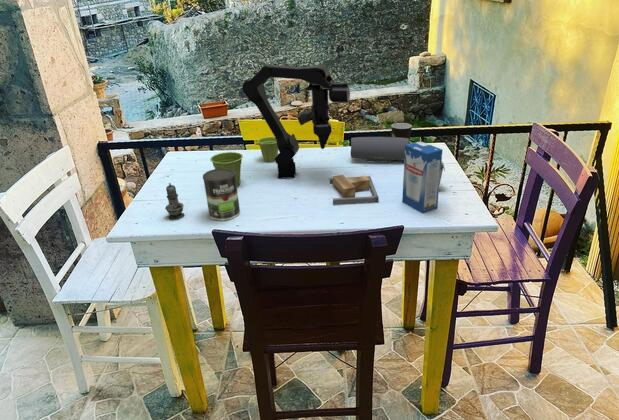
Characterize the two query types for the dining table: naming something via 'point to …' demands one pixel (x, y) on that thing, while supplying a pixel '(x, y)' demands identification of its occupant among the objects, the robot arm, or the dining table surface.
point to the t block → (350, 185)
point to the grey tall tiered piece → (174, 204)
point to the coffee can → (221, 194)
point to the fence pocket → (355, 200)
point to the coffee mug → (401, 130)
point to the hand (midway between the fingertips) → (321, 144)
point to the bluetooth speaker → (378, 148)
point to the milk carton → (421, 176)
